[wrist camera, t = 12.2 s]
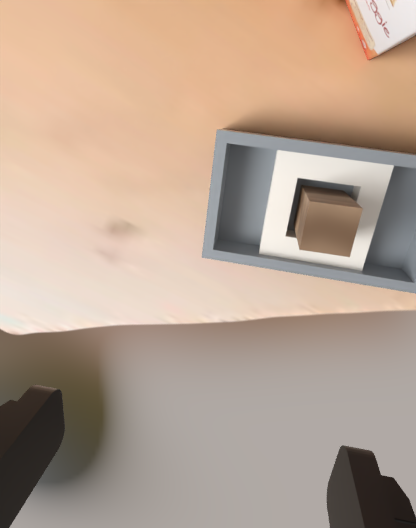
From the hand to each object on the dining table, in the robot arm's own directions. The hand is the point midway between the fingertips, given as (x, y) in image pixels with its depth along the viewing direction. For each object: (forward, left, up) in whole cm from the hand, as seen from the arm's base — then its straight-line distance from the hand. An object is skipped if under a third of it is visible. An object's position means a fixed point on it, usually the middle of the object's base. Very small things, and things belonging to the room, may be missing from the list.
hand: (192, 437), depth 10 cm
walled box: (-1, +7, -30) cm, 31 cm away
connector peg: (-1, +7, -29) cm, 30 cm away
